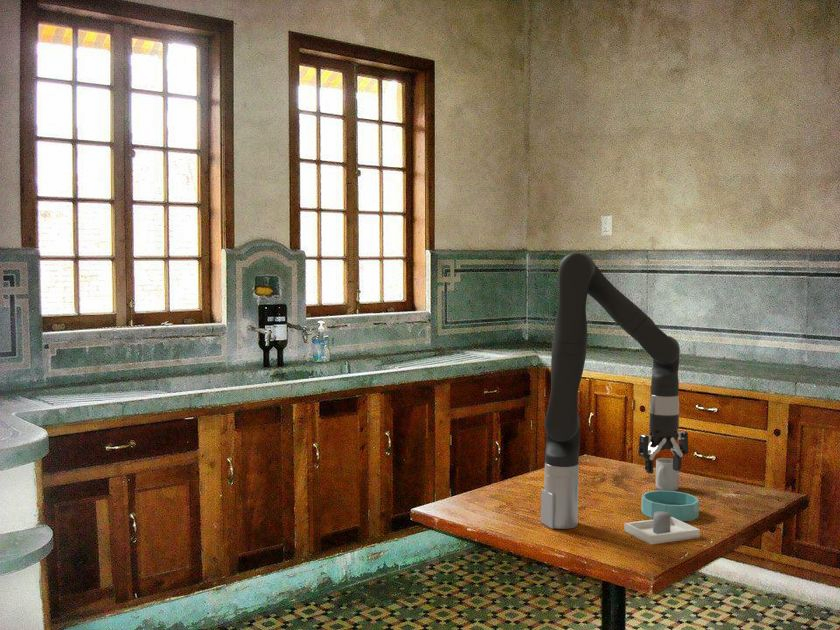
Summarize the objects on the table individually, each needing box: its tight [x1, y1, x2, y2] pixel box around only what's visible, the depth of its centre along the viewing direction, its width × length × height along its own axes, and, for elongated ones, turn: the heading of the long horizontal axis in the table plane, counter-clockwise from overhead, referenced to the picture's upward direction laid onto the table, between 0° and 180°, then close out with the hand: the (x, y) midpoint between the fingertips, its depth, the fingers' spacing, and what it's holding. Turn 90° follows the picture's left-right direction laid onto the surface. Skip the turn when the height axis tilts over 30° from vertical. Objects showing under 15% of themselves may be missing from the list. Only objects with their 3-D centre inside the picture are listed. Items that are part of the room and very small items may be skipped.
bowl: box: [640, 489, 700, 522], centre depth 250 cm, size 16×16×4 cm
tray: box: [623, 517, 701, 545], centre depth 231 cm, size 16×12×2 cm
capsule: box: [652, 511, 671, 534], centre depth 231 cm, size 4×4×5 cm
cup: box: [655, 457, 680, 491], centre depth 276 cm, size 7×10×9 cm
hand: (663, 471), depth 230 cm, fingers open, 8 cm apart
